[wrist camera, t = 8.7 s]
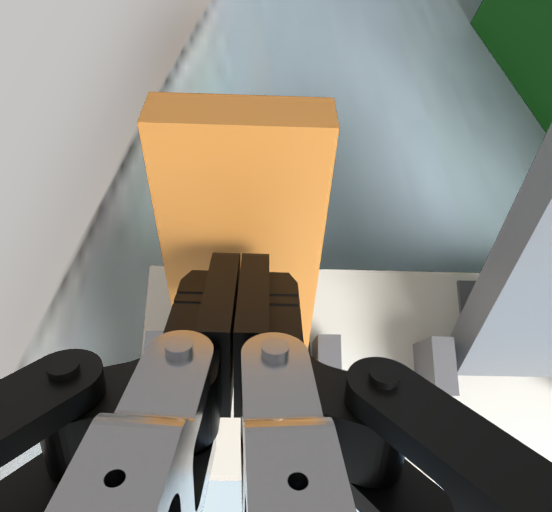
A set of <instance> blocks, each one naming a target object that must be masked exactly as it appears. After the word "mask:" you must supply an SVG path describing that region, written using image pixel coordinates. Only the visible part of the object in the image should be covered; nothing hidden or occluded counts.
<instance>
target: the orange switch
mask: <svg viewBox="0 0 552 512" xmlns="http://www.w3.org/2000/svg"><path fill="white" fill-rule="evenodd" d="M137 124H138V129H139V135H140V140H141V145H142V151H143V156H144V162H145V167H146V172H147V178H148V183H149V188H150V194H151V199H152V205H153V210H154V215H155V221H156V226H157V231H158V237H159V242H160V248H161V253H162V258H163V264H164V269H165V274H166V280H167V285H168V291H169V296H170V301H171V307H172V305H173V303H174V298H175V295H176V294H177V289H178V286H179V283H180V280H181V279H182V278H183V277H184V276H186V275H187V274H188V273H189V272H190V271H191V270H209V265H210V261H211V257H212V253H213V252H220V253H240V269H241V260H242V253H258V254H269V272H287V273H290V274H291V276H292V277H293V278H294V279H295V280H296V281H297V283H298V290H299V300H300V310H301V320H302V330H303V340H304V344H305V345H306V347H307V349H308V351H309V354H310V355H311V348H310V341H309V338H310V331H311V324H312V317H313V310H314V303H315V296H316V289H317V282H318V275H319V268H320V261H321V254H322V247H323V240H324V233H325V226H326V219H327V212H328V205H329V198H330V191H331V184H332V177H333V170H334V163H335V156H336V149H337V142H338V135H339V123H338V117H337V112H336V106H335V100H334V98H329V97H298V96H266V95H235V94H203V93H172V92H149V93H148V96H147V98H146V101H145V103H144V106H143V108H142V111H141V114H140V116H139V119H138V121H137Z"/></svg>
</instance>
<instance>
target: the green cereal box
mask: <svg viewBox="0 0 552 512" xmlns="http://www.w3.org/2000/svg"><path fill="white" fill-rule="evenodd" d="M470 24H471V25H472V27H473V28H474V30H475V31H476V33H477V34H478V35H479V37H480V38H481V40H482V41H483V43H484V44H485V46H486V47H487V48H488V50H489V51H490V53H491V54H492V56H493V57H494V59H495V60H496V61H497V63H498V64H499V66H500V67H501V69H502V70H503V71H504V73H505V74H506V76H507V77H508V79H509V80H510V82H511V83H512V84H513V86H514V87H515V89H516V90H517V92H518V93H519V95H520V96H521V97H522V99H523V100H524V102H525V103H526V105H527V106H528V108H529V109H530V110H531V112H532V113H533V115H534V116H535V118H536V119H537V120H538V122H539V123H540V125H541V126H542V128H543V129H544V131H545V132H546V133H547V131H548V129H549V127H550V125H551V123H552V0H483V1H482V3H481V5H480V7H479V8H478V10H477V12H476V14H475V16H474V18H473V19H472V21H471V23H470Z"/></svg>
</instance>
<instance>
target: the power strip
mask: <svg viewBox="0 0 552 512" xmlns="http://www.w3.org/2000/svg"><path fill="white" fill-rule="evenodd" d="M479 274H480V273H464V272H420V271H376V270H332V269H319V275H318V282H317V289H316V296H315V303H314V310H313V317H312V324H311V331H310V338H309V341H310V348H311V356H312V357H313V358H315V359H316V360H318V361H319V362H321V363H323V364H325V365H328V366H331V367H334V368H338V369H342V370H346V371H348V369H349V368H350V366H351V365H352V364H353V363H354V362H356V361H358V360H360V359H363V358H367V357H384V358H389V359H392V360H395V361H398V362H400V363H402V364H404V365H405V366H407V367H408V368H410V369H411V370H413V371H414V372H416V373H418V374H419V375H421V376H422V377H424V378H425V379H427V380H428V381H430V382H431V383H433V384H434V385H436V386H437V387H439V388H440V389H442V390H443V391H445V392H446V393H448V394H449V395H451V396H452V397H454V398H455V399H457V400H458V401H460V402H461V403H463V404H464V405H466V406H467V407H469V408H470V409H472V410H473V411H475V412H477V413H478V414H480V415H481V416H483V417H484V418H486V419H487V420H489V421H490V422H492V423H493V424H495V425H496V426H498V427H499V428H501V429H502V430H504V431H505V432H507V433H508V434H510V435H511V436H513V437H514V438H516V439H517V440H519V441H520V442H522V443H523V444H525V445H526V446H528V447H529V448H531V449H532V450H534V451H536V452H537V453H539V454H540V455H542V456H543V457H545V458H546V459H548V460H549V461H551V462H552V377H520V376H461V375H458V373H457V363H456V352H455V342H454V337H450V335H451V333H452V331H453V329H454V327H455V325H456V322H457V320H458V318H459V316H460V314H461V312H462V310H463V308H464V306H465V304H466V301H467V299H468V297H469V295H470V293H471V291H472V289H473V287H474V285H475V283H476V280H477V278H478V276H479ZM171 308H172V307H171V301H170V296H169V291H168V285H167V280H166V274H165V269H164V266H155V265H150V268H149V278H148V288H147V299H146V309H145V319H144V330H143V340H142V350H141V356H142V354H143V352H144V350H145V348H146V346H147V345H148V344H149V343H150V341H152V340H153V339H154V338H156V337H157V336H159V335H162V334H163V332H164V329H165V326H166V323H167V320H168V317H169V314H170V311H171ZM240 433H241V418H234V388H233V399H232V409H231V418H220V423H219V430H218V434H217V436H216V451H215V455H214V460H213V465H212V469H211V474H210V479H209V480H211V481H241V453H240ZM405 459H406V460H407V461H409V460H408V459H407V458H406V457H405ZM409 462H410V461H409ZM410 463H411V464H412V465H413V466H415V465H414V464H413V463H412V462H410ZM415 467H416V468H417V469H418V470H420V469H419V468H418V467H417V466H415ZM420 471H421V470H420ZM421 472H422V473H423V474H424V475H426V474H425V473H424V472H423V471H421ZM426 476H427V475H426ZM427 477H428V478H429V479H430V480H432V479H431V478H430V477H429V476H427ZM432 481H433V482H434V483H436V482H435V481H434V480H432Z"/></svg>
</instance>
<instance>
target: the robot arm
mask: <svg viewBox="0 0 552 512" xmlns="http://www.w3.org/2000/svg"><path fill="white" fill-rule="evenodd" d="M233 388H234V418H241V433H240V453H241V492H242V512H356V509H357V510H358V511H359V512H552V462H551V461H549V460H548V459H546V458H545V457H543V456H542V455H540V454H539V453H537V452H536V451H534V450H532V449H531V448H529V447H528V446H526V445H525V444H523V443H522V442H520V441H519V440H517V439H516V438H514V437H513V436H511V435H510V434H508V433H507V432H505V431H504V430H502V429H501V428H499V427H498V426H496V425H495V424H493V423H492V422H490V421H489V420H487V419H486V418H484V417H483V416H481V415H480V414H478V413H477V412H475V411H473V410H472V409H470V408H469V407H467V406H466V405H464V404H463V403H461V402H460V401H458V400H457V399H455V398H454V397H452V396H451V395H449V394H448V393H446V392H445V391H443V390H442V389H440V388H439V387H437V386H436V385H434V384H433V383H431V382H430V381H428V380H427V379H425V378H424V377H422V376H421V375H419V374H418V373H416V372H414V371H413V370H411V369H410V368H408V367H407V366H405V365H404V364H402V363H400V362H398V361H395V360H392V359H389V358H384V357H367V358H363V359H360V360H358V361H356V362H354V363H353V364H352V365H351V366H350V368H349V369H348V371H346V370H342V369H338V368H334V367H331V366H328V365H325V364H323V363H321V362H319V361H318V360H316V359H315V358H313V357H312V356H311V355H310V354H309V351H308V349H307V347H306V345H305V344H304V340H303V330H302V320H301V310H300V300H299V290H298V283H297V281H296V280H295V279H294V278H293V277H292V276H291V274H290V273H287V272H269V254H258V253H242V260H241V269H240V253H220V252H213V253H212V257H211V261H210V265H209V270H191V271H190V272H189V273H188V274H187V275H186V276H184V277H183V278H182V279H181V280H180V283H179V286H178V289H177V294H176V295H175V298H174V303H173V305H172V308H171V311H170V314H169V317H168V320H167V323H166V326H165V329H164V332H163V334H162V335H159V336H157V337H156V338H154V339H153V340H152V341H150V343H149V344H148V345H147V346H146V348H145V350H144V352H143V354H142V356H141V358H139V359H137V360H134V361H131V362H127V363H122V364H117V365H112V366H107V367H103V364H102V360H101V359H100V357H99V356H98V355H97V354H95V353H93V352H91V351H88V350H83V349H68V350H62V351H58V352H55V353H52V354H49V355H47V356H45V357H43V358H41V359H39V360H37V361H35V362H33V363H31V364H29V365H27V366H25V367H23V368H22V369H20V370H18V371H16V372H14V373H12V374H10V375H8V376H6V377H4V378H2V379H0V468H1V467H2V466H4V465H5V464H7V463H8V462H10V461H11V460H13V459H14V458H16V457H18V456H19V455H21V454H22V453H24V452H25V451H27V450H28V449H30V448H31V447H33V446H35V445H36V444H38V443H39V442H40V445H41V449H42V453H41V454H40V455H38V456H37V457H35V458H34V459H32V460H31V461H29V462H28V463H26V464H25V465H23V466H22V467H20V468H19V469H17V470H16V471H14V472H13V473H11V474H10V475H8V476H7V477H5V478H4V479H2V480H1V481H0V512H202V511H203V506H204V502H205V497H206V493H207V488H208V483H209V479H210V474H211V469H212V465H213V460H214V455H215V451H216V436H217V434H218V430H219V423H220V418H231V409H232V399H233ZM405 457H406V458H407V459H408V460H409V461H410V462H412V463H413V464H414V465H415V466H417V467H418V468H419V469H420V470H421V471H423V472H424V473H425V474H426V475H427V476H429V477H430V478H431V479H432V480H434V481H435V482H436V483H437V484H438V485H440V486H441V487H442V488H443V489H444V490H443V489H441V488H440V487H439V486H438V485H437V484H435V483H434V482H433V481H432V480H430V479H429V478H428V477H427V476H426V475H424V474H423V473H422V472H421V471H420V470H418V469H417V468H416V467H415V466H413V465H412V464H411V463H410V462H409V461H407V460H406V459H405Z"/></svg>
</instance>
